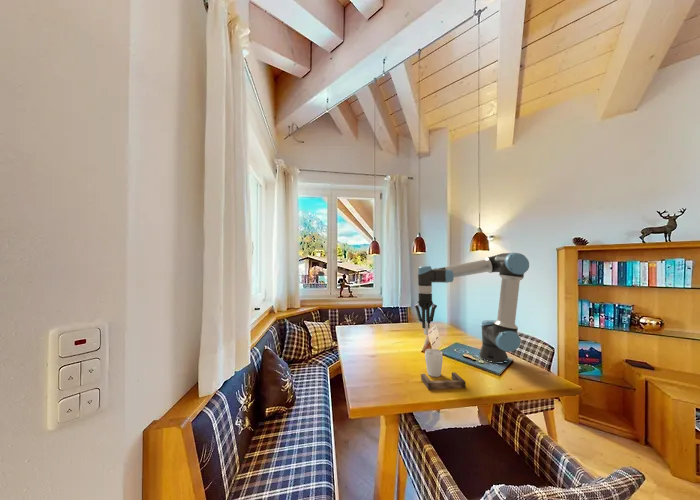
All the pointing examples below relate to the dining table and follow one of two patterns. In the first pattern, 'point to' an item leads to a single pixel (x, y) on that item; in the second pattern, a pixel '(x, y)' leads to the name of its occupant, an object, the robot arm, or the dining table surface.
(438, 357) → the cup
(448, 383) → the walnut pocket
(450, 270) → the robot arm
